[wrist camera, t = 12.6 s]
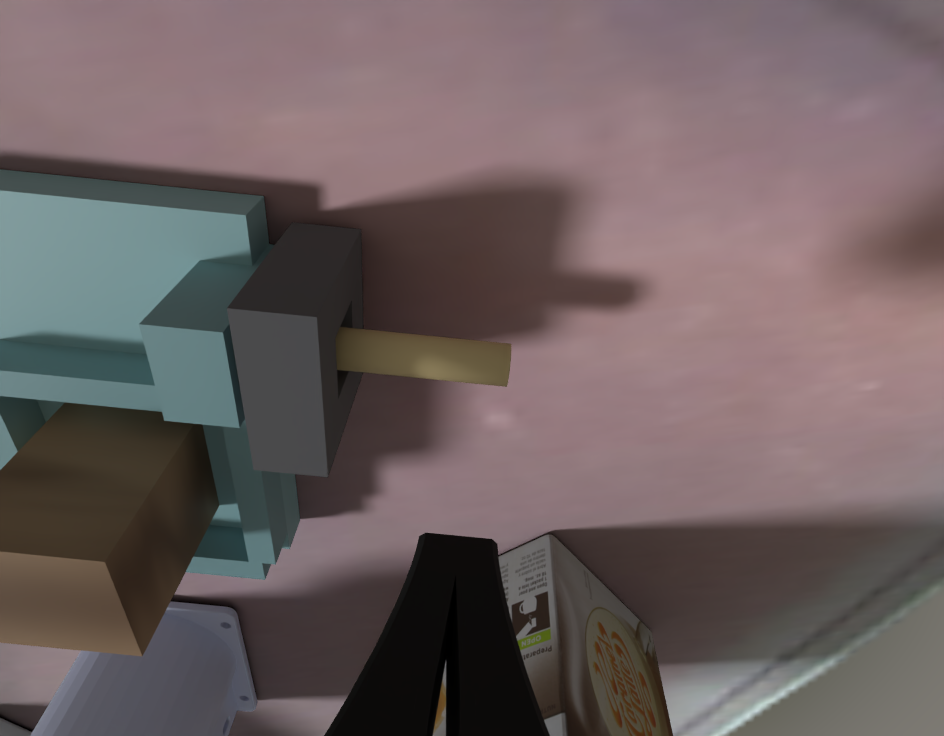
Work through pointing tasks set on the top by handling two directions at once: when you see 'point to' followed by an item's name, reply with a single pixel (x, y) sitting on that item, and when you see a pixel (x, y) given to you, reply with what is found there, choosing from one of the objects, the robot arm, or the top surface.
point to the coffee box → (578, 648)
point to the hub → (298, 347)
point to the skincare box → (12, 729)
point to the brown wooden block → (100, 527)
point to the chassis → (167, 334)
